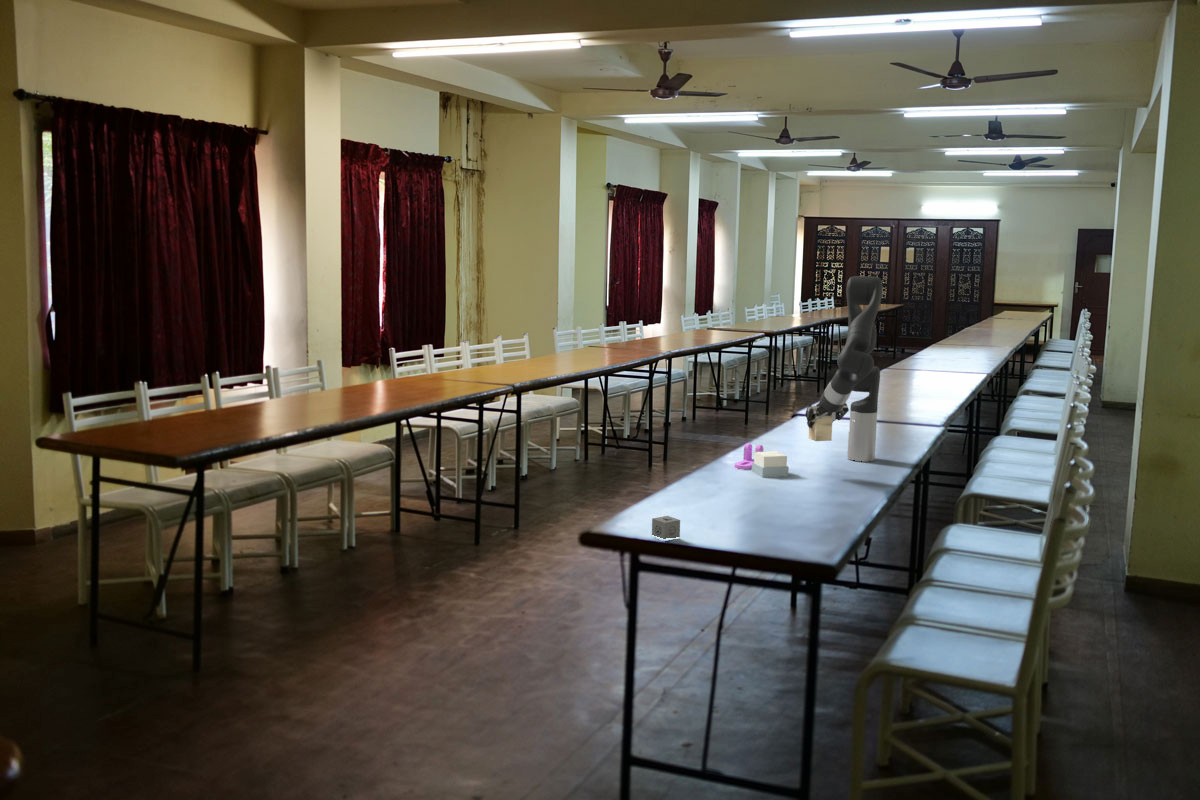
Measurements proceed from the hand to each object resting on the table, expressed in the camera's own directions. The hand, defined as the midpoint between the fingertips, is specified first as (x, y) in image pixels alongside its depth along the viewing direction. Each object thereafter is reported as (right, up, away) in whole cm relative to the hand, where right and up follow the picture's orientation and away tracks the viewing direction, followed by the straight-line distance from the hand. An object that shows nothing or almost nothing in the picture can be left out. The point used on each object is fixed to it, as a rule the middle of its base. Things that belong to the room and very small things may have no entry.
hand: (817, 425), depth 342 cm
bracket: (-21, -15, +14) cm, 29 cm away
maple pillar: (0, -5, -1) cm, 5 cm away
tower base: (-15, -16, +2) cm, 23 cm away
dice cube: (-55, -27, -77) cm, 98 cm away
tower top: (-15, -13, +2) cm, 20 cm away
